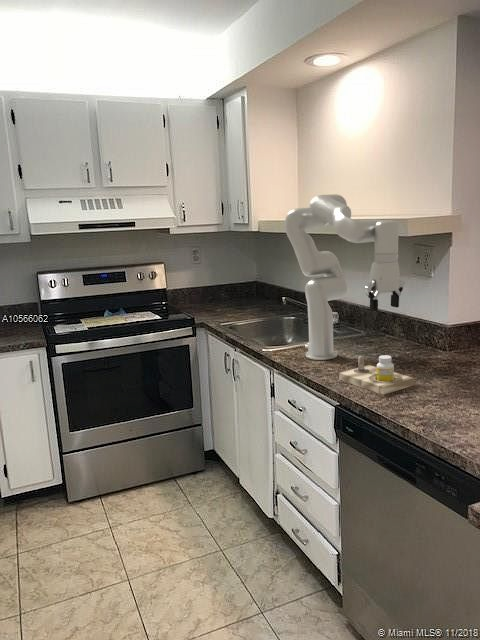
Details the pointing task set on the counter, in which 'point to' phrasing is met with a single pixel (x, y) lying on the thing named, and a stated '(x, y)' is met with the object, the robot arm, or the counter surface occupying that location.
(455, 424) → the counter surface
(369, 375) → the plate
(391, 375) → the supplement bottle
